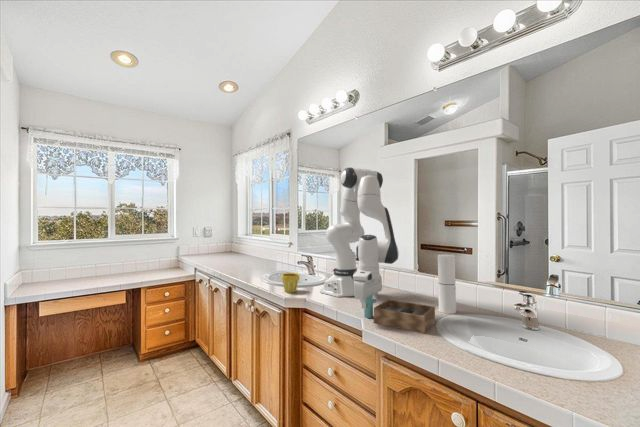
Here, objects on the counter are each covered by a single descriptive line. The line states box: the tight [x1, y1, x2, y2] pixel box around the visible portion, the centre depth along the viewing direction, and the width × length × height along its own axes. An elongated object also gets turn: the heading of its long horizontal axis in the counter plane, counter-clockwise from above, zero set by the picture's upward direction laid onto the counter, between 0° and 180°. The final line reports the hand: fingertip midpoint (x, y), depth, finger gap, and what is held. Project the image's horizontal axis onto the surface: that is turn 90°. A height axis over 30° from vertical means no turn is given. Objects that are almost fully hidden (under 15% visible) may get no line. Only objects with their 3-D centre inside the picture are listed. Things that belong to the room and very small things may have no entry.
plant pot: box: [281, 272, 300, 294], centre depth 176 cm, size 10×10×10 cm
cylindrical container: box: [437, 254, 457, 315], centre depth 135 cm, size 7×7×25 cm
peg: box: [363, 295, 374, 319], centre depth 129 cm, size 4×4×12 cm
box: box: [373, 299, 436, 334], centre depth 122 cm, size 20×15×6 cm
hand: (369, 305), depth 129 cm, fingers open, 8 cm apart
